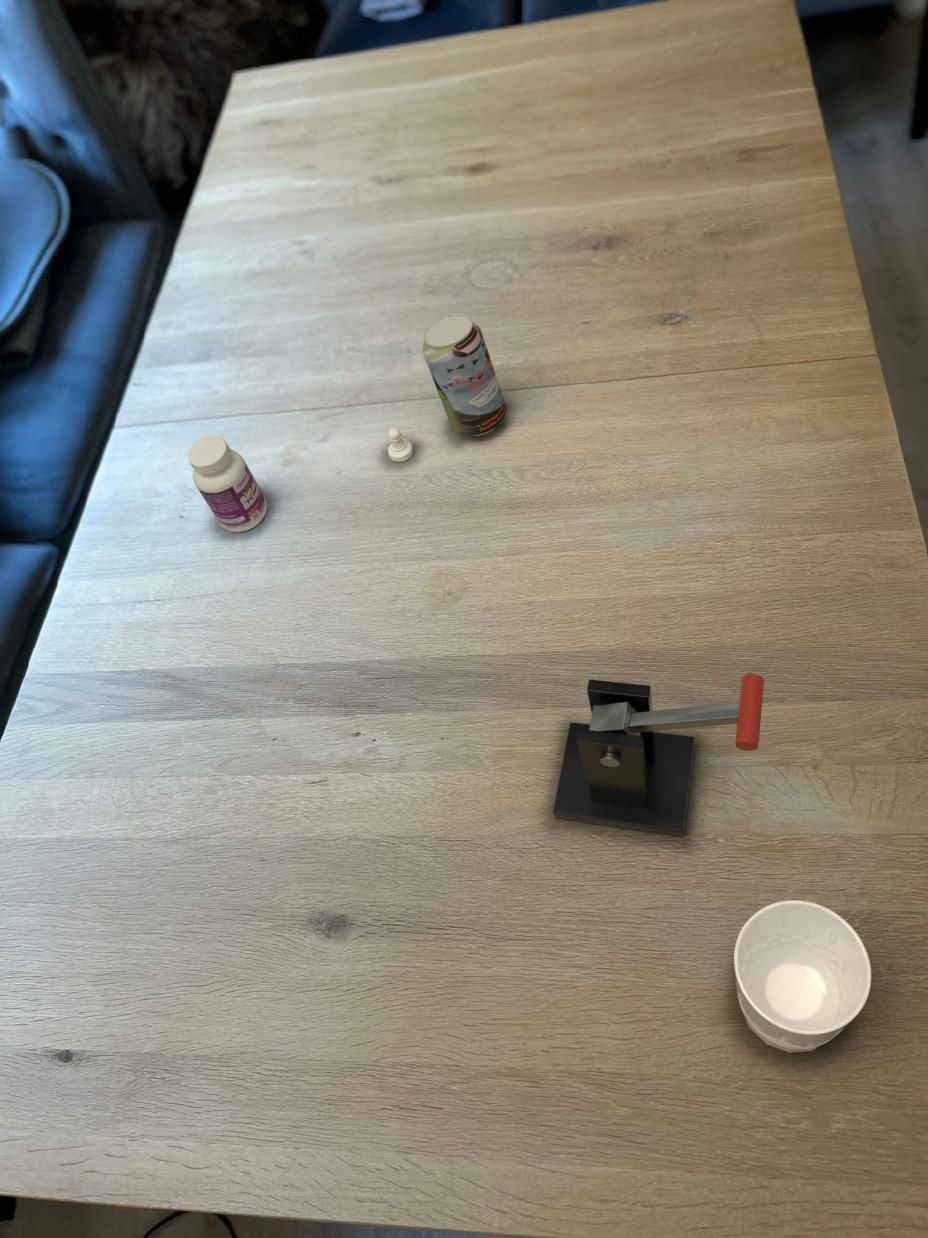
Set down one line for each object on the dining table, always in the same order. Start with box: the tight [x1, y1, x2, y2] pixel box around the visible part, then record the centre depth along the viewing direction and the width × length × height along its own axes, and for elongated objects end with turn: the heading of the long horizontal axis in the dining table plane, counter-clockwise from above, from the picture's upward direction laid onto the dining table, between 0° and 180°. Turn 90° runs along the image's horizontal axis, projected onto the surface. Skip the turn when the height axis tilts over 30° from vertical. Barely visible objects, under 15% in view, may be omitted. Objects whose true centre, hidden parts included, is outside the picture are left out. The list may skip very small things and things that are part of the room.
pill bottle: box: [187, 435, 268, 533], centre depth 99 cm, size 5×5×10 cm
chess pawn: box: [387, 427, 414, 463], centre depth 102 cm, size 3×3×4 cm
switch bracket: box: [552, 679, 695, 838], centre depth 74 cm, size 10×8×12 cm
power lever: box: [589, 673, 765, 752], centre depth 68 cm, size 12×5×2 cm, turn 77°
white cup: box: [733, 899, 872, 1054], centre depth 64 cm, size 8×8×10 cm
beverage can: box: [422, 313, 508, 437], centre depth 99 cm, size 6×7×12 cm
